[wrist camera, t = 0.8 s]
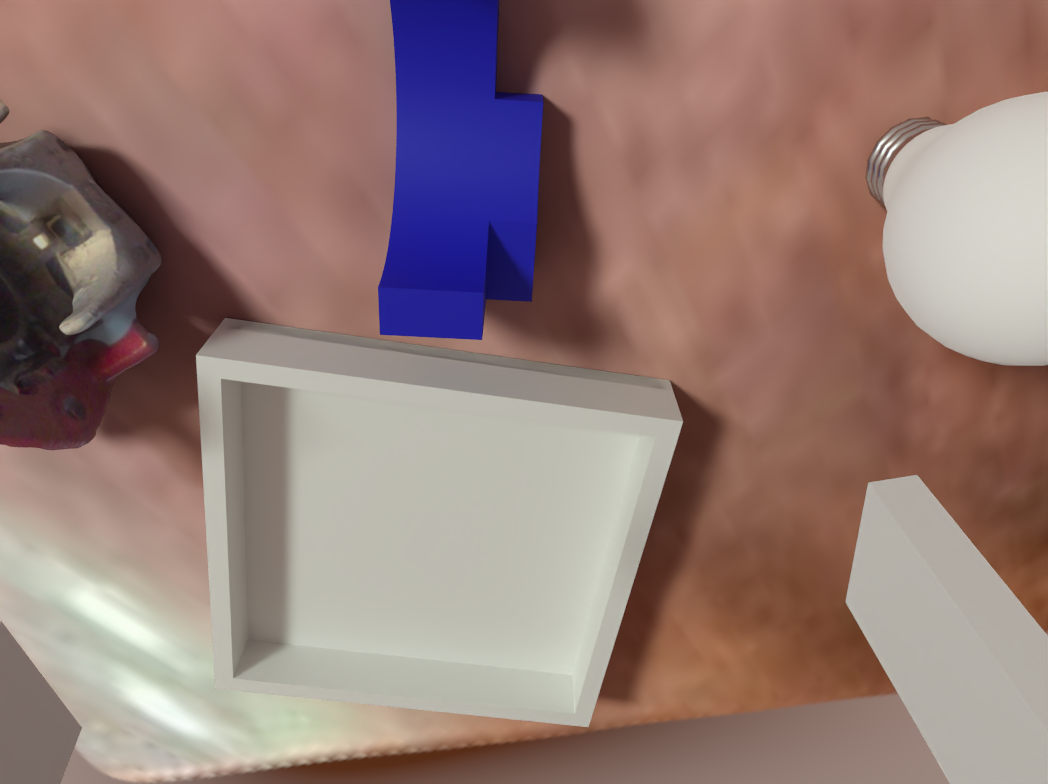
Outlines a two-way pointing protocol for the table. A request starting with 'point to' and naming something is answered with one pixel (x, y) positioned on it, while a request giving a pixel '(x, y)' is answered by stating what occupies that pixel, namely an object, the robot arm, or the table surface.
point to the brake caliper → (64, 295)
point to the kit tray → (422, 520)
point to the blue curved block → (457, 174)
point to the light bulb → (970, 227)
